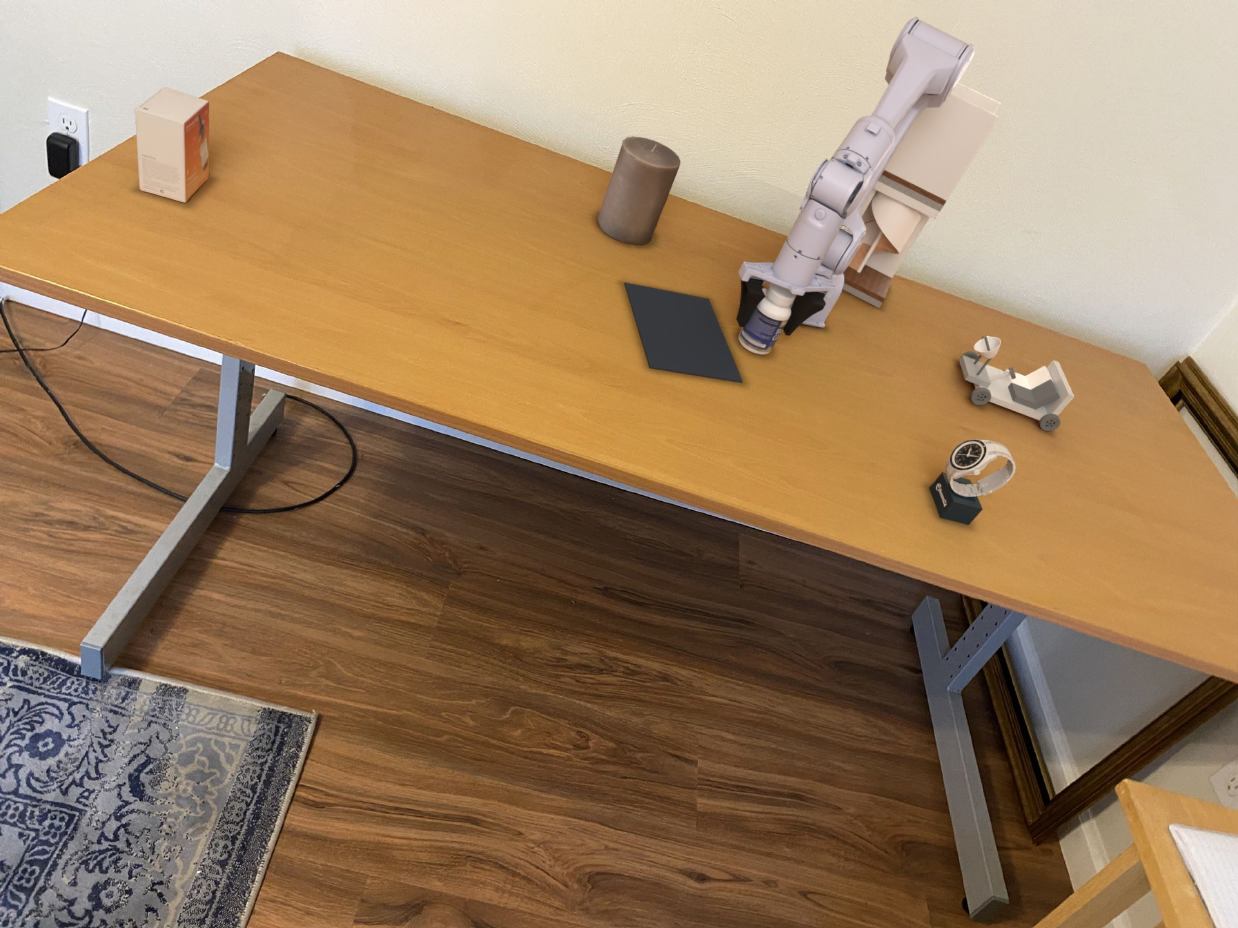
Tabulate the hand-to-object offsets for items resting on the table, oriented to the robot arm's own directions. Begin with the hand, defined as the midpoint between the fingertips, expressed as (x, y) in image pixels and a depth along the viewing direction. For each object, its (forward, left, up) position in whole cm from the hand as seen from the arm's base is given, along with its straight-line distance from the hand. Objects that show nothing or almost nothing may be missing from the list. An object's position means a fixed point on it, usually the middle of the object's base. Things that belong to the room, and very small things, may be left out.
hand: (763, 327), depth 123 cm
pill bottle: (0, 0, -3) cm, 3 cm away
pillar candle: (+16, -27, -3) cm, 32 cm away
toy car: (-45, +2, -3) cm, 45 cm away
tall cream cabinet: (-29, -26, -3) cm, 39 cm away
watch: (-20, +30, -3) cm, 36 cm away
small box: (+80, -13, -3) cm, 81 cm away
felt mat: (+12, 0, -3) cm, 12 cm away
